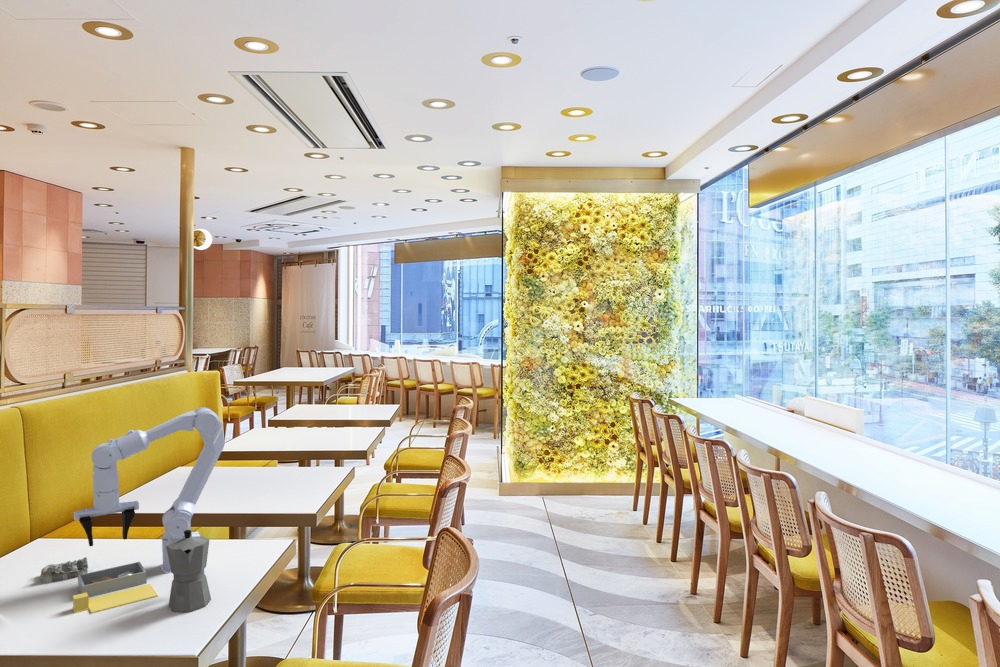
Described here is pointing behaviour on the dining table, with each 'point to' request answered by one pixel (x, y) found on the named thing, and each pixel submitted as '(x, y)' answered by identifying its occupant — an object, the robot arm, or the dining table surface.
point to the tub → (113, 583)
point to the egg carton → (63, 570)
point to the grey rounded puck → (125, 573)
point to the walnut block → (100, 579)
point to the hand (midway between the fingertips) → (108, 541)
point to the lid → (112, 599)
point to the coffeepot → (188, 573)
